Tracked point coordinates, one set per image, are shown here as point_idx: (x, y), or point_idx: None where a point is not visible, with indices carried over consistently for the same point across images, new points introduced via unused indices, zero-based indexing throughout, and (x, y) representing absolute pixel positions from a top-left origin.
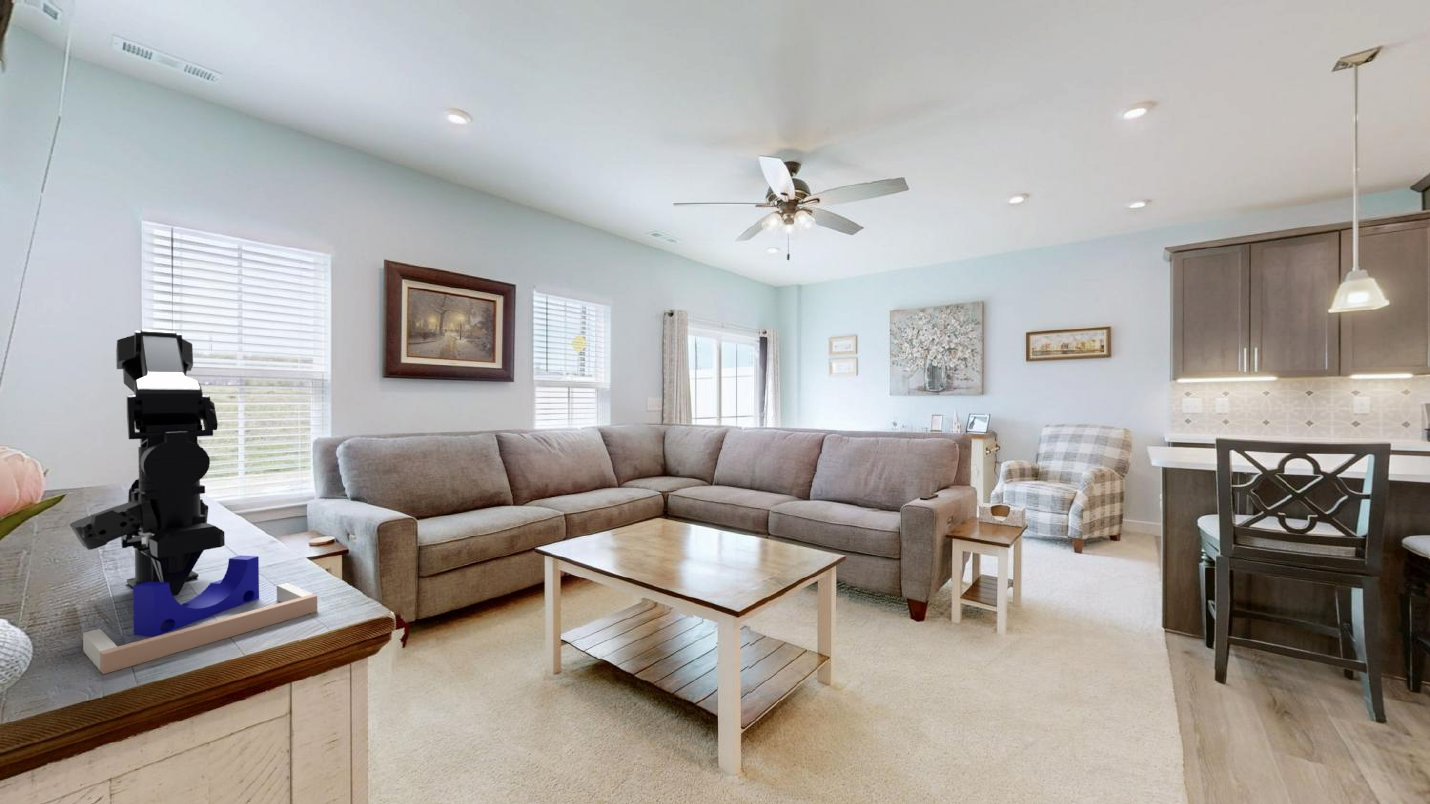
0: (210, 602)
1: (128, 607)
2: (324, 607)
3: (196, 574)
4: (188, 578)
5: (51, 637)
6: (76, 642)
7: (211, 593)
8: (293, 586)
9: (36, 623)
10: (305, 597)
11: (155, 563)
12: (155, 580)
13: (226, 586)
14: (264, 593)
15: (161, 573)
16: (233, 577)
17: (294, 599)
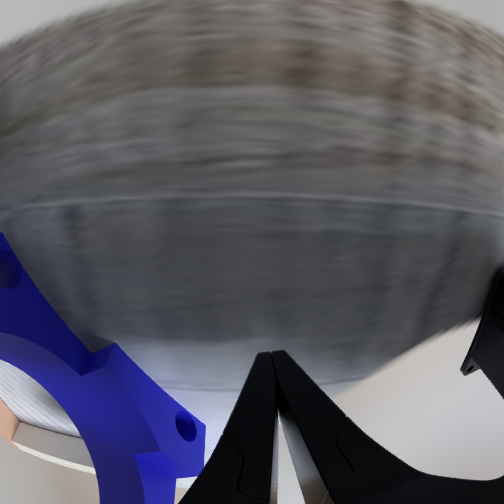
0: (69, 398)
1: (370, 235)
2: None
3: (468, 373)
4: (466, 360)
5: (165, 17)
6: (36, 100)
7: (114, 423)
8: (72, 467)
9: (416, 18)
10: (7, 439)
11: (327, 474)
12: (498, 313)
13: (108, 449)
14: None
15: (232, 444)
16: (114, 475)
17: (3, 433)
